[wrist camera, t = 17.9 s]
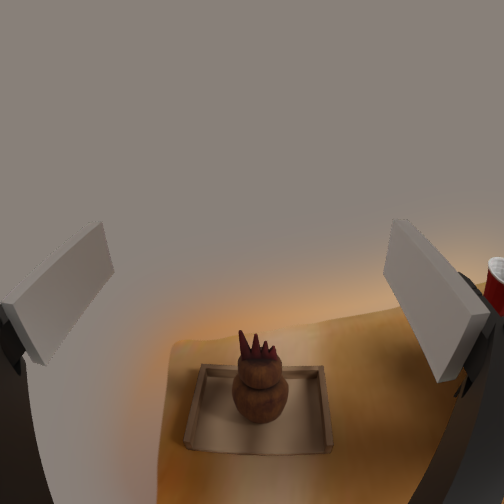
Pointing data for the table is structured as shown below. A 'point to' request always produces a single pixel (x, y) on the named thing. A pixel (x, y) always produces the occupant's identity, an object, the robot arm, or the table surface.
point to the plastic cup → (495, 284)
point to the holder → (254, 434)
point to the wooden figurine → (259, 382)
